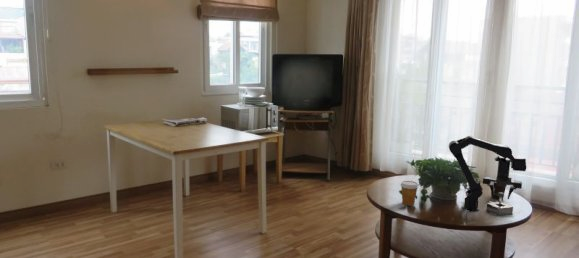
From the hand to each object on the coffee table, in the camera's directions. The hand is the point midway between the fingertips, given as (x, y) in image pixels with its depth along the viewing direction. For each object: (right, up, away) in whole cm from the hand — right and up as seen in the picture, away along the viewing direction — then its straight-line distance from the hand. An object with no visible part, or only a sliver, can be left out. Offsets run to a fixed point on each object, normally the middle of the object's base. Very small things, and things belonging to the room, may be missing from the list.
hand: (500, 198), depth 251 cm
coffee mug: (+10, -4, +28) cm, 30 cm away
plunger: (0, -4, +1) cm, 4 cm away
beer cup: (-46, -5, +12) cm, 48 cm away
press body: (-1, -8, +3) cm, 8 cm away
